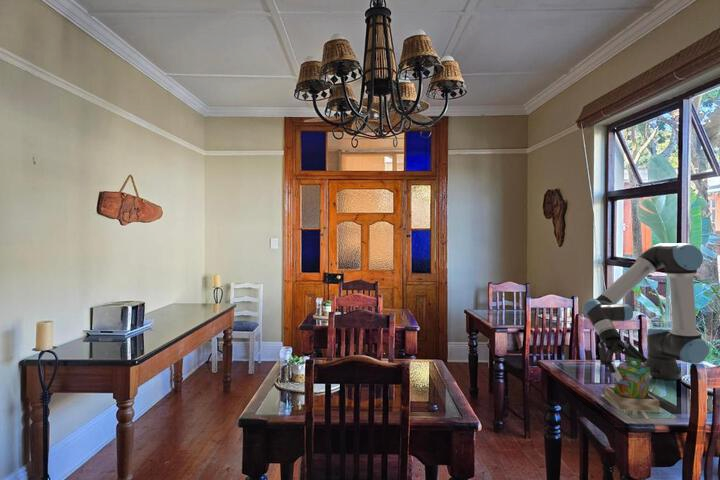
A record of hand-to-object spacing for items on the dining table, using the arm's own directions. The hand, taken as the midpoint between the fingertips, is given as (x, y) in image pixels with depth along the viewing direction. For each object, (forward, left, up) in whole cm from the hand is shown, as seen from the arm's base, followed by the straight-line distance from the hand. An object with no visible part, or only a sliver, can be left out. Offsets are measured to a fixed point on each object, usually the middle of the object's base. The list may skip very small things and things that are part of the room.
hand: (634, 379), depth 167 cm
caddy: (0, -3, -10) cm, 11 cm away
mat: (0, -3, -11) cm, 11 cm away
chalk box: (0, -3, -7) cm, 7 cm away
